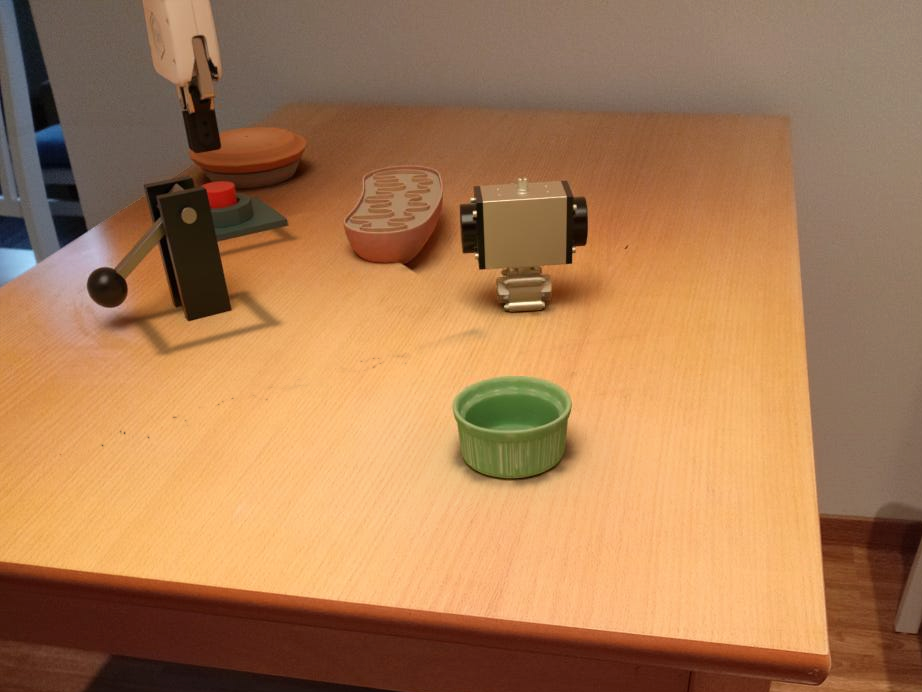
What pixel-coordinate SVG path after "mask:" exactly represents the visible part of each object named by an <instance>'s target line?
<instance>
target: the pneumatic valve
mask: <svg viewBox="0 0 922 692" xmlns="http://www.w3.org/2000/svg"><path fill="white" fill-rule="evenodd" d="M522 178H523V179H522ZM516 179H517V180H516V183H515V182H510V183H504V184H491V185H490V184H489V185H488V184H487V185H474V186H473V196H472V197H470V203H469V202H468V203H459V227H460V228H459V229H460V242H461V252H462V254H463V255H466V254H474V260H477V265H478V270H479V271H481V270H484V271H485V270H499V269H502V270H500V273H501V275H502V276H497V278H496V282H495V283H496V297H497V298H496V300H497V303H499V304H504V305H503V309H505V311H508V312H509V313H517V312H531V311H542V309H544V308H545V307H546V306H545V305H546V304H545V301H550V300H551V299H552V293H553V292H552V291H553V286H552V276H551V275H550V274H549V273H543V267H544V266H545V267H546V266H559V265H560V266H561V265H573V254H576V253H577V248H576V247H586V245H587V243H588V236H589V213H588V211H589V210H588V203H587V199H586V196H584V195H581V196H580V195H579V196H574V194H573V192H572V191H573V190H572V189H571V187H570V183H569V182H568V180H566V179H565V180H552V181H551V180H550V181H539V182H538V181H537V182H535V181H534V182H530V181H528V177H527V176H522V177H521V176H520V177H517V178H516Z"/></svg>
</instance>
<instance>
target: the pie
mask: <svg viewBox="0 0 922 692" xmlns="http://www.w3.org/2000/svg"><path fill="white" fill-rule="evenodd" d="M219 136H220V142H221V148H220V149H219V150H214V151H208V152H202V153H195V152H193V151H192V150H191V149H189V151H188V155H189V159H190V160H191V161H192V162H193V163H194V164H196V165H197V166H198V167H199V168H201V171H202V172H203V174H205V176H206V177H207V178H208V180H210V182H217V181H226V182H231V183H233V184H234V185H235V190H247V189H248V190H249V189H259V188H265V187H271V186H274V185H278V184H281V183H283V182H286V181H288V180H289V179H291V178H293V177H294V175H295V173H296V171H297V169H298V166H299V164H300V161H301V158H302V156H303V155H304V153H305V151H306V148H307V146H308V142H307V140H306V138H304V137H303V136H302V135H300V134H298V133H294V132H292V131H290V130H288V129H284V128H281V127H270V126H256V127H255V126H254V127H241V128H236V129H235V128H234V129H229V130H225V131H221V132H219Z"/></svg>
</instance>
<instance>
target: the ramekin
mask: <svg viewBox="0 0 922 692" xmlns="http://www.w3.org/2000/svg"><path fill="white" fill-rule="evenodd" d="M572 407H573V402H572V398H571V396H570V395H569V393H568V392H567V391H566V390H565V389H564V388H563V387H562V386H560V385H559V384H556V383H554V382H552V381H549V380H547V379H543V378H539V377H534V376H525V375H524V376H522V375H506V376H496V377H490V378H487V379H483V380H479V381H477V382H474V383H472V384H470V385H468V386H466V387H465V388H463V389H462V390H461V391H459V392H458V394H457V395H456V396H455V397H454V400H453V401H452V412H453V416H454V420H455V421H456V425H457V431H458V439H459V445H460V451H461V456H462V457H463V460H464V461H465V463H466V464H467V465H468V466H469V467H470V468H472V469H473V470H474V471H477V472H479V473H480V474H483V475H486V476H489V477H494V478H502V479H519V478H520V479H521V478H527V477H533V476H535V475H539V474H542V473H544V472H547V471H548V470H550V469H553V467H555V466H557V464H558V463H559V462H560V461H561V460H562V458H563V457H564V453H565V450H566V442H567V432H568V422H569V418H570V416H571V412H572Z"/></svg>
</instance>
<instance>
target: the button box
mask: <svg viewBox="0 0 922 692" xmlns="http://www.w3.org/2000/svg"><path fill="white" fill-rule="evenodd" d="M236 196H237V201H238V203H237V204H235V205H233V206H229V207H224V208H213V209H211V213H212V218H213V223H214V228H215V233H216V237H217V242H223V241H227V240H231V239H236V238H240V237H245V236H248V235H254V234H259V233H262V232H266V231H271V230H275V229H279V228H285V227H288V226H289V222H288V218H287V217H285V216H284V215H282V214H281V213H280V212H278V211H277V210H276V209H274V208H273V207H272V206H271V205H269V204H267V203H266V202H265V201H264V200H261V199H260V198H259V197H258V196H252V197H250V196H249V195H247V194H246V193H242V192H237V191H236Z"/></svg>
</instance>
